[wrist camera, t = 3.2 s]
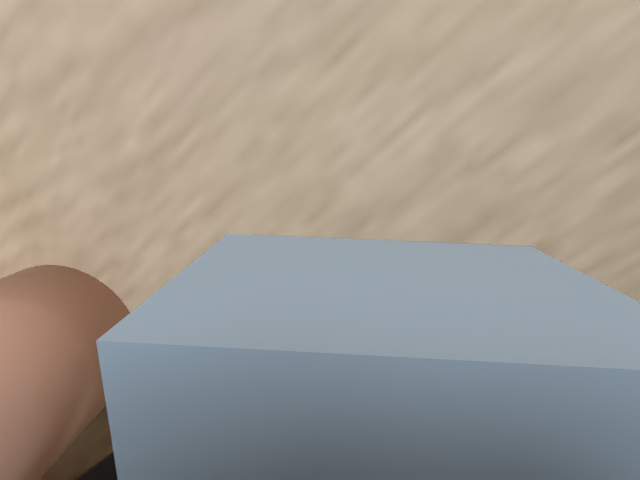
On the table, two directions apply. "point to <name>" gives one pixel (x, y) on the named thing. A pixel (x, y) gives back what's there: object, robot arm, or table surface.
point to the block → (375, 366)
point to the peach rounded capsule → (49, 363)
